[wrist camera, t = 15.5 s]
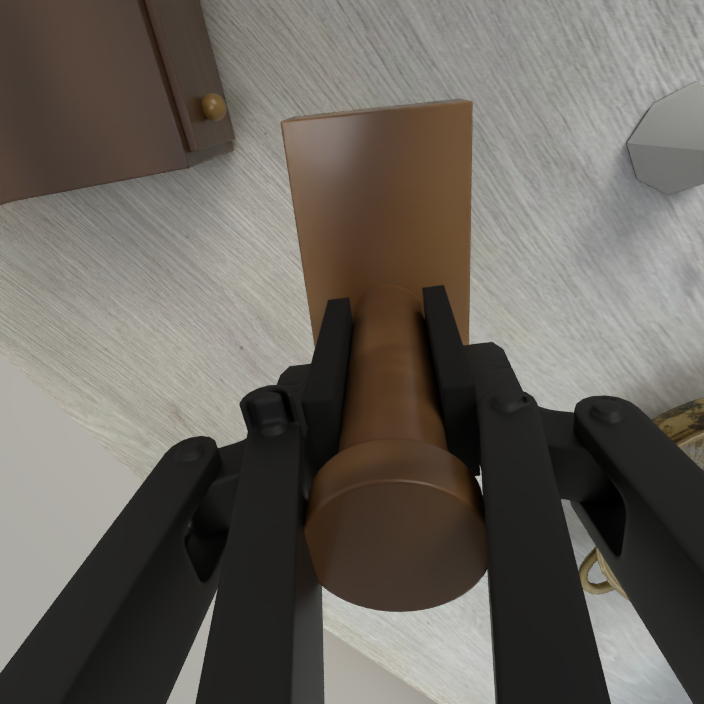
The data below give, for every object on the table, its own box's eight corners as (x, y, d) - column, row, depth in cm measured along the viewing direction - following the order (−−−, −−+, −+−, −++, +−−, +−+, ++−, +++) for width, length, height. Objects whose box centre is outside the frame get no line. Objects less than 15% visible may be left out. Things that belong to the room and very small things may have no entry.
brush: (454, 97, 19) (624, 127, 6) (454, 399, 26) (533, 743, 12) (300, 113, 20) (125, 177, 6) (339, 405, 26) (294, 740, 13)
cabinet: (202, -85, 32) (132, -153, 23) (258, 145, 38) (221, 162, 29) (-43, -22, 34) (-192, -62, 25) (48, 185, 40) (-46, 212, 32)
